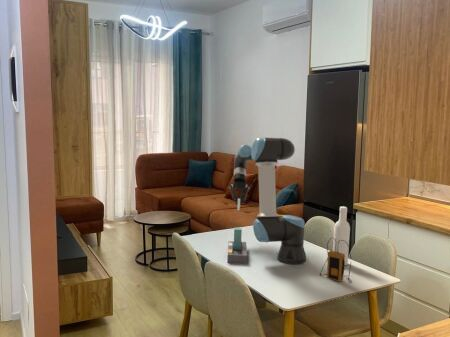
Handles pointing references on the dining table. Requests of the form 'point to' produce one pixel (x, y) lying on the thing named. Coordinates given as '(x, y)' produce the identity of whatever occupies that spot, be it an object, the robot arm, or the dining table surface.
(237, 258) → the switch housing
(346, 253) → the bottle
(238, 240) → the switch knob
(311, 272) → the dining table surface
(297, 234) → the robot arm
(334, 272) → the multimeter
